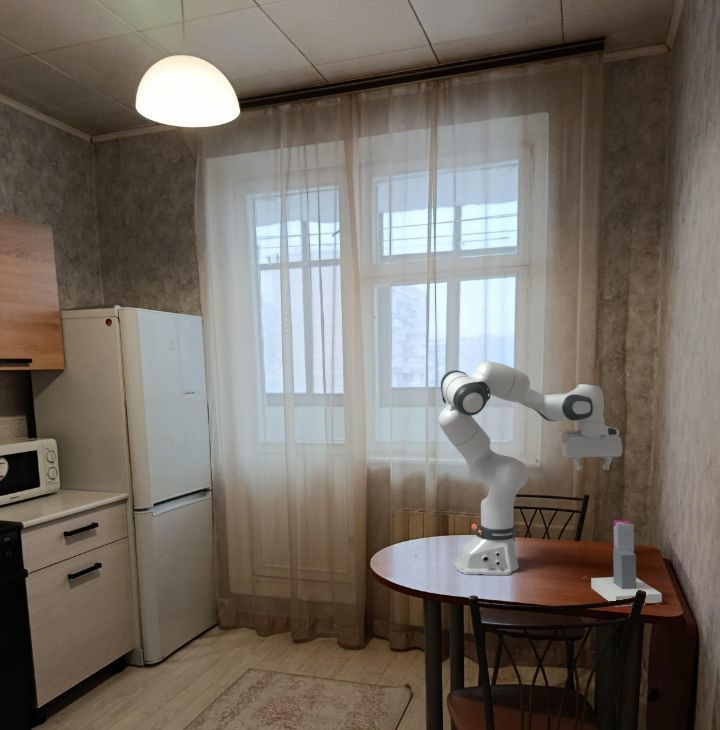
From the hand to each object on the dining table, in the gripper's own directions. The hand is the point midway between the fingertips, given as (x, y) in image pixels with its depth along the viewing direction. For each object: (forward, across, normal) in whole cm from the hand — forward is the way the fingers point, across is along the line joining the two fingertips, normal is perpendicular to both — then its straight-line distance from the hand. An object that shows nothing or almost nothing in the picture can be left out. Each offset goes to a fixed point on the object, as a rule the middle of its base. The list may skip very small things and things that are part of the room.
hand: (592, 470), depth 193 cm
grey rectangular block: (+32, -3, -24) cm, 40 cm away
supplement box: (+33, +17, +13) cm, 39 cm away
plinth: (+34, -3, -24) cm, 42 cm away
